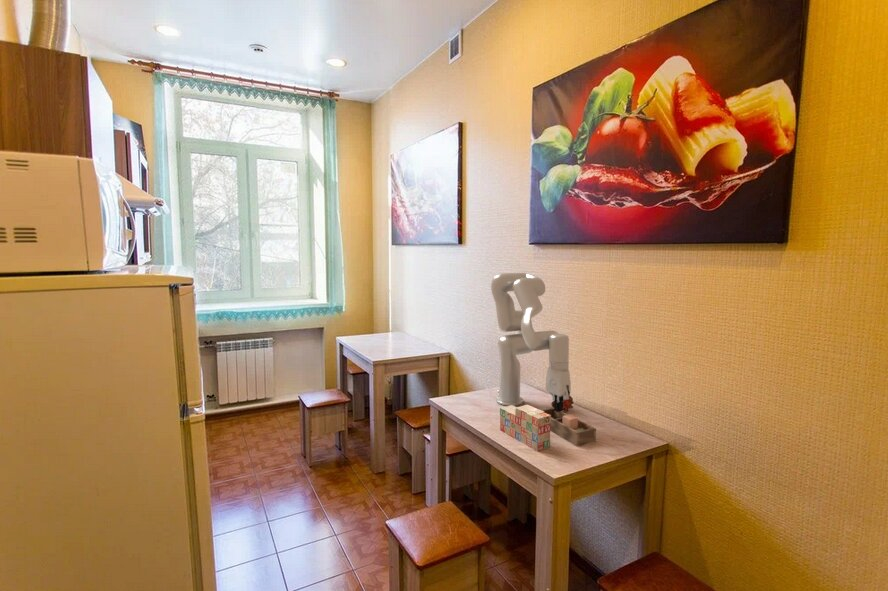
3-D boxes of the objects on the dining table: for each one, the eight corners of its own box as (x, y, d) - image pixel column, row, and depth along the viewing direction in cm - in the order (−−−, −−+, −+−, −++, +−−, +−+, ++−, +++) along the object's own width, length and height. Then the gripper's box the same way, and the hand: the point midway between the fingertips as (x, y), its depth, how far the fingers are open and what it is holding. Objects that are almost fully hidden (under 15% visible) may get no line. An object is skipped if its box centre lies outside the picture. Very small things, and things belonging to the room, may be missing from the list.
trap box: (536, 422, 179) (536, 410, 179) (553, 418, 183) (553, 407, 182) (576, 446, 158) (577, 433, 157) (595, 441, 161) (596, 428, 161)
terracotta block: (562, 426, 168) (562, 416, 168) (570, 424, 170) (570, 414, 170) (569, 429, 165) (569, 419, 164) (577, 428, 166) (577, 417, 166)
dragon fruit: (573, 412, 195) (554, 421, 189) (561, 397, 200) (542, 405, 194) (581, 401, 189) (562, 410, 183) (568, 385, 194) (549, 394, 188)
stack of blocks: (499, 430, 172) (499, 400, 171) (511, 427, 175) (512, 397, 174) (537, 451, 154) (538, 418, 153) (550, 447, 157) (551, 414, 156)
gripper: (539, 362, 177) (539, 406, 178) (563, 370, 163) (563, 418, 165) (553, 360, 180) (553, 403, 181) (579, 368, 166) (578, 415, 168)
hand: (558, 410), depth 173 cm, fingers closed
